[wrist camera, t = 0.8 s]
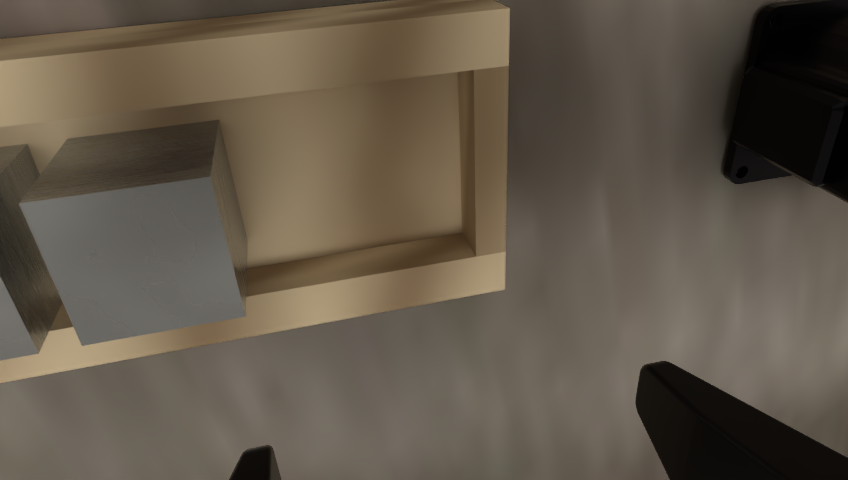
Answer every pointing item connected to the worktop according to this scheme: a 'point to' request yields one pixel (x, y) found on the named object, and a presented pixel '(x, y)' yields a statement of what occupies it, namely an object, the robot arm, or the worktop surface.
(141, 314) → the grey cube
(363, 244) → the wooden tray
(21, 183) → the grey square block
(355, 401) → the worktop surface
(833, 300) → the worktop surface
